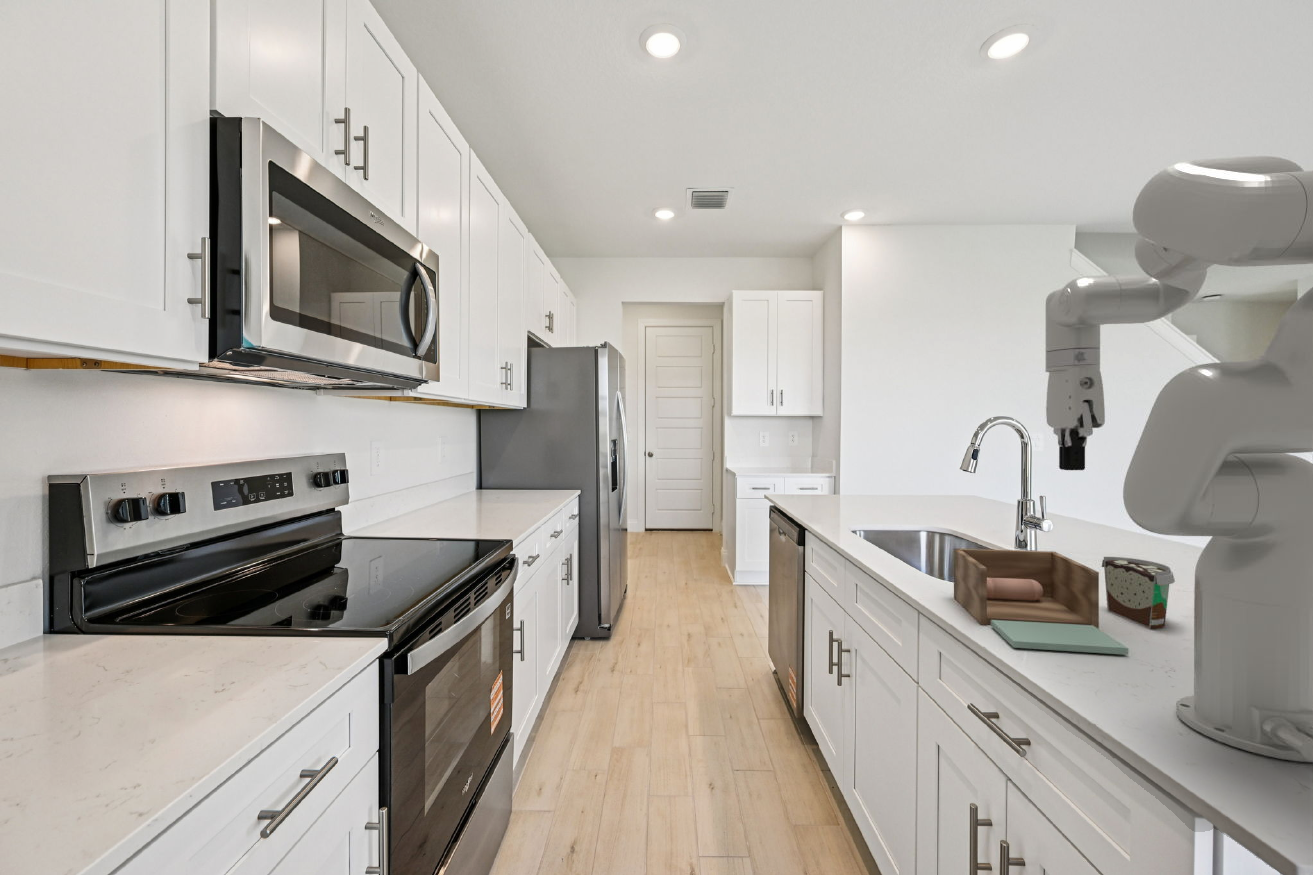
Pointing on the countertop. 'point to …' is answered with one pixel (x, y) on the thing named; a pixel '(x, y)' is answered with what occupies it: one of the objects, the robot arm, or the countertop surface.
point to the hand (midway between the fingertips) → (1071, 469)
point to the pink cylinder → (1013, 589)
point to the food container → (1137, 590)
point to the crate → (1060, 577)
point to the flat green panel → (1058, 637)
